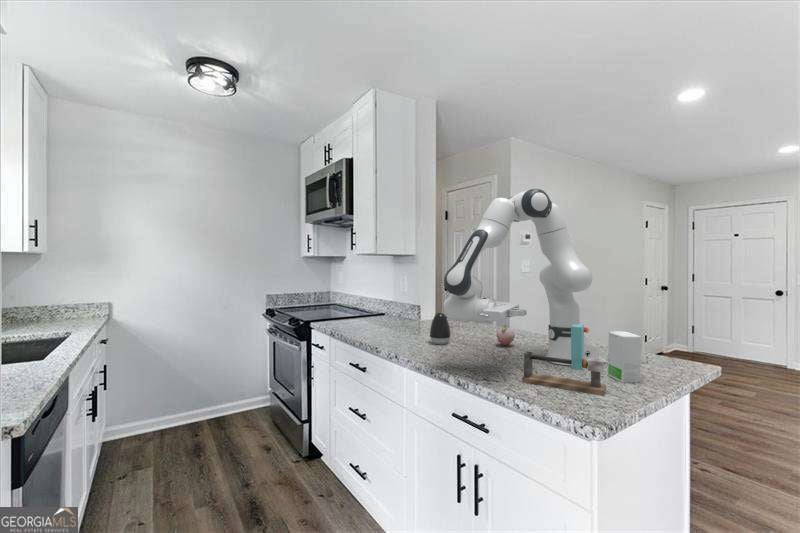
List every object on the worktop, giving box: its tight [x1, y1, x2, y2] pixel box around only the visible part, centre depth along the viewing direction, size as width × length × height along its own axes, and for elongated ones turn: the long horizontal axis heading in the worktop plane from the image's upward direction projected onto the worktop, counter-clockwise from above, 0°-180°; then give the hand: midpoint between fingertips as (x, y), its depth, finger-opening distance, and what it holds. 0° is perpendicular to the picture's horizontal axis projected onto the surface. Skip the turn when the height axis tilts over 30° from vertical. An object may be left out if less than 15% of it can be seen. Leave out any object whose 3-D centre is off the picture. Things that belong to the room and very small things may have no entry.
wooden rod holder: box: [521, 351, 607, 396], centre depth 123 cm, size 24×7×10 cm, turn 57°
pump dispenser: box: [429, 312, 452, 345], centre depth 187 cm, size 10×10×15 cm
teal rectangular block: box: [570, 324, 585, 371], centre depth 121 cm, size 3×5×14 cm, turn 147°
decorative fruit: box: [496, 325, 516, 347], centre depth 180 cm, size 9×8×10 cm
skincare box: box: [607, 330, 642, 384], centre depth 129 cm, size 8×7×16 cm
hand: (525, 312), depth 130 cm, fingers closed
